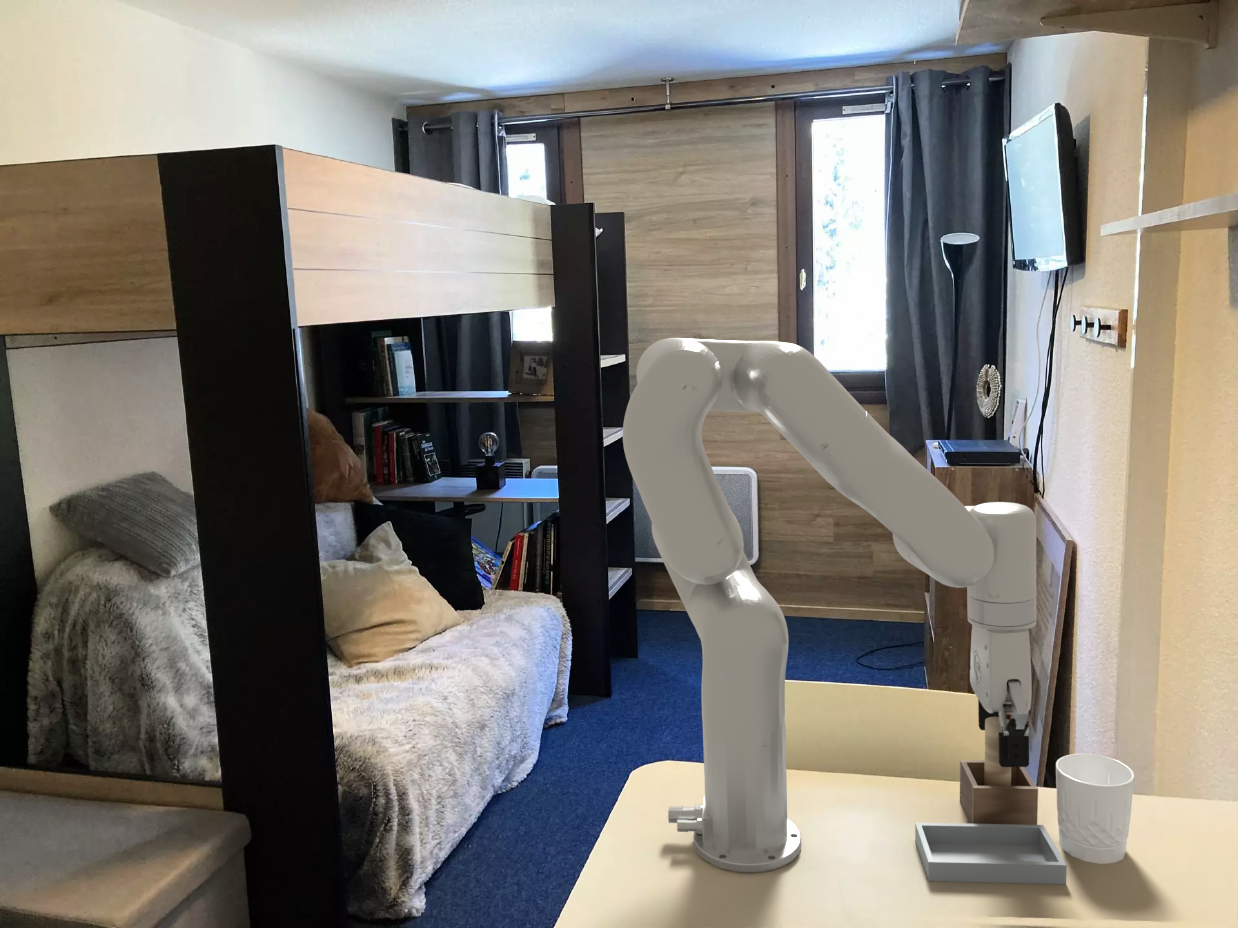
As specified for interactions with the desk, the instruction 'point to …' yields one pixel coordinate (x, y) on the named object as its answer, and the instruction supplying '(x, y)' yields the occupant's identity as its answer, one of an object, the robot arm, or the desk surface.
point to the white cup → (1093, 806)
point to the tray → (989, 853)
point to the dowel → (994, 756)
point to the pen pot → (997, 796)
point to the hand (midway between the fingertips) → (1002, 746)
